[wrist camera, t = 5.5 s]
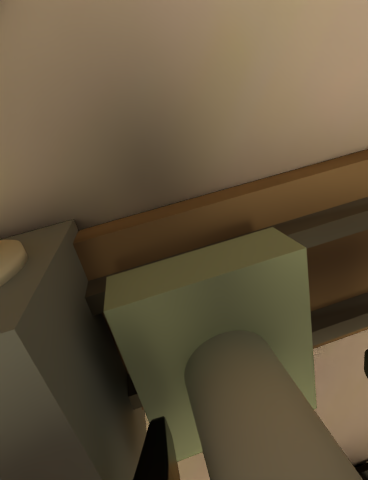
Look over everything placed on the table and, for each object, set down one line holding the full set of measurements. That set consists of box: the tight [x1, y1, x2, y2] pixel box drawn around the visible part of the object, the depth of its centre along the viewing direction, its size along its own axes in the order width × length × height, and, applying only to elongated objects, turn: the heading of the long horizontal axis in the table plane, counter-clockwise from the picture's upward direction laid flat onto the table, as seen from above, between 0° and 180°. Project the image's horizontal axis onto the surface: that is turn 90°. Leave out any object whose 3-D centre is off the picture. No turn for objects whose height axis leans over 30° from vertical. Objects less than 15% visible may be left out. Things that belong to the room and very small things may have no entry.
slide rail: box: [73, 149, 368, 410], centre depth 12 cm, size 9×22×4 cm, turn 103°
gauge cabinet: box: [0, 219, 147, 480], centre depth 10 cm, size 10×6×7 cm, turn 13°
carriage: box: [103, 227, 363, 480], centre depth 7 cm, size 7×6×8 cm
